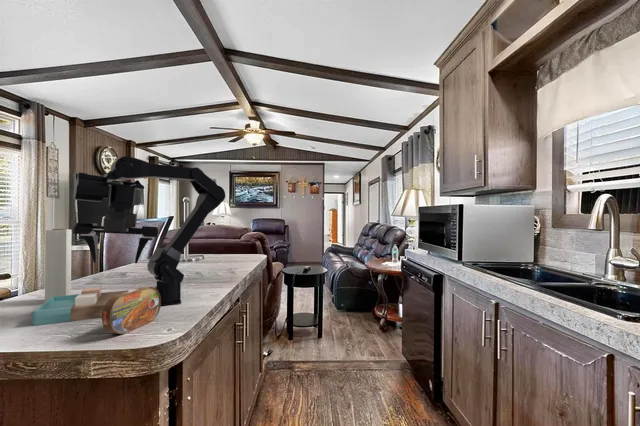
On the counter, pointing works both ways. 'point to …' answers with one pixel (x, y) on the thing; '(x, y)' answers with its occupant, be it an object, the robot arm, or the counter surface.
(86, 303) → the cream tile
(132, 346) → the counter surface
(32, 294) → the counter surface
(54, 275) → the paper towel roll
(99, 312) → the walnut plate
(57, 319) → the tray
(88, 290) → the terracotta block
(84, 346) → the counter surface
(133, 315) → the tin
